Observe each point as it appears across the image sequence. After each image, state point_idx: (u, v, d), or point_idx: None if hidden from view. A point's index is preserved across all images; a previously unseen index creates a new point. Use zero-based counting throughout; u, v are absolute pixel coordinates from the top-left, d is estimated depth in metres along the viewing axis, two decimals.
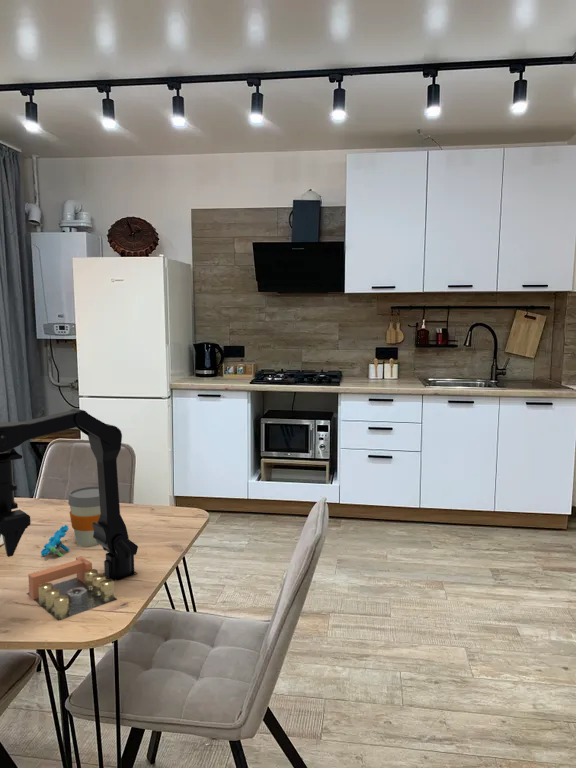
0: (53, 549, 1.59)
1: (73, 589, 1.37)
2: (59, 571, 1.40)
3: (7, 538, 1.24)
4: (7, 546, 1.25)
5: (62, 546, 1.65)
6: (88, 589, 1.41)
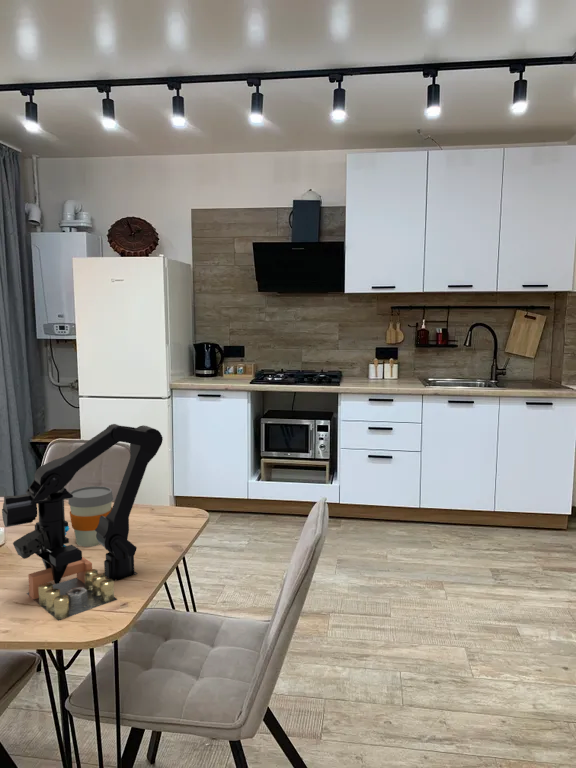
0: None
1: (73, 589, 1.37)
2: None
3: (55, 567, 1.37)
4: (54, 574, 1.38)
5: None
6: (88, 589, 1.41)
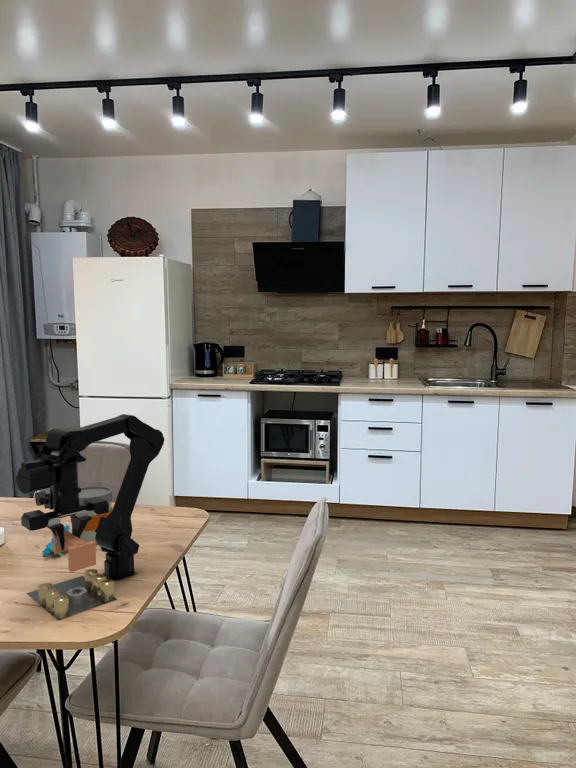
0: None
1: (73, 589, 1.37)
2: None
3: (52, 531, 1.35)
4: (56, 539, 1.36)
5: None
6: (88, 589, 1.41)
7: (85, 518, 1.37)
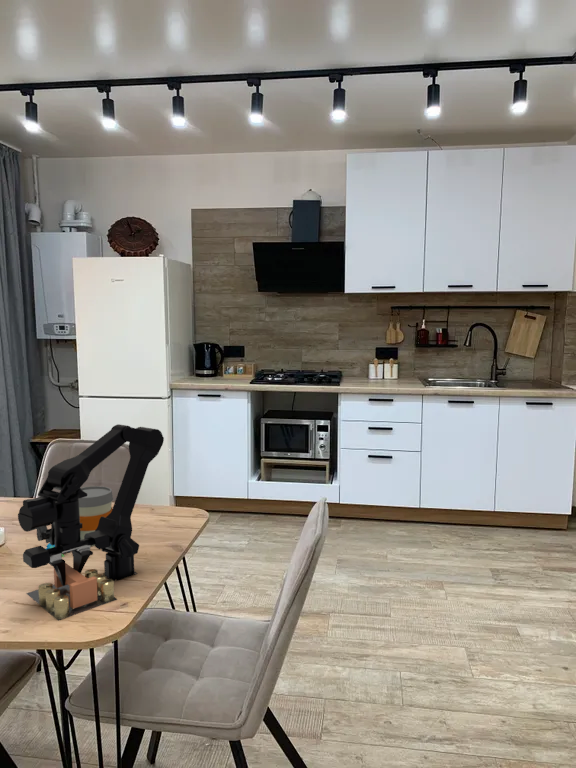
0: None
1: None
2: None
3: (54, 566, 1.36)
4: (58, 574, 1.37)
5: None
6: None
7: (86, 553, 1.38)
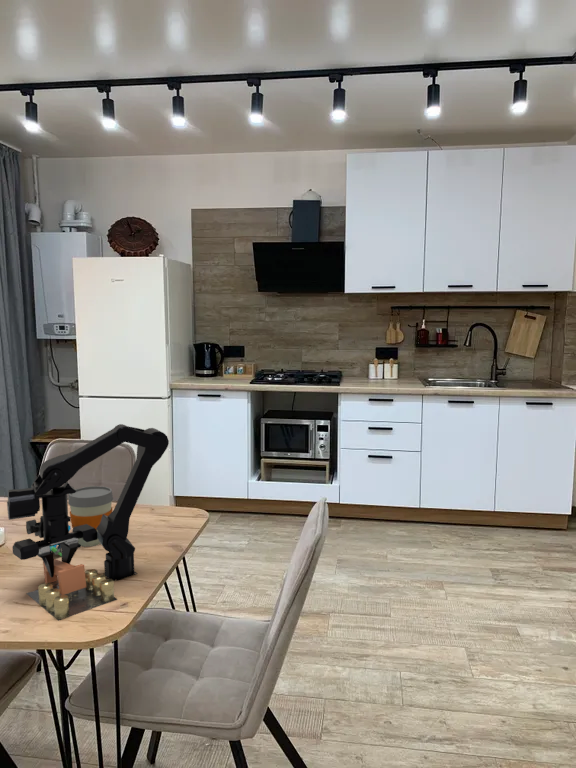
0: (54, 549, 1.59)
1: None
2: None
3: (42, 558, 1.41)
4: (46, 566, 1.41)
5: None
6: (88, 589, 1.41)
7: (74, 546, 1.43)
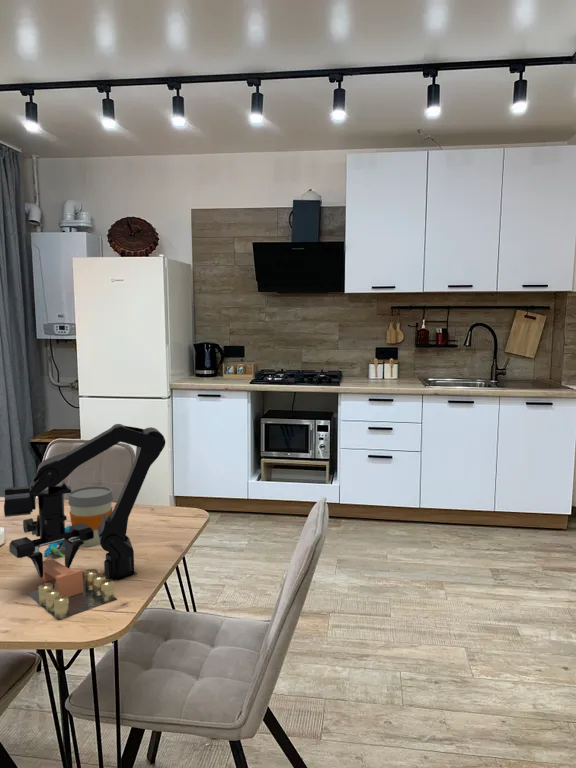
0: (54, 549, 1.59)
1: None
2: (52, 569, 1.42)
3: (32, 559, 1.41)
4: (36, 566, 1.42)
5: None
6: (88, 589, 1.41)
7: (77, 542, 1.46)
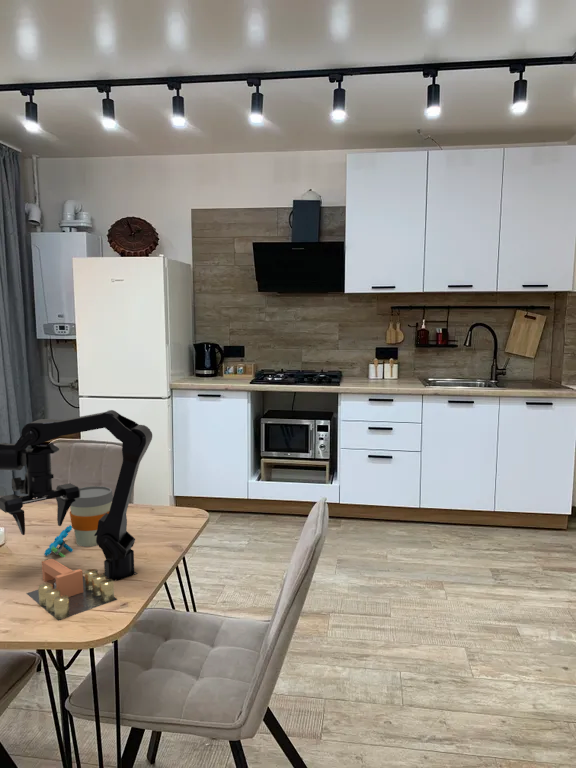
0: (54, 549, 1.59)
1: None
2: (52, 569, 1.42)
3: (14, 516, 1.45)
4: (18, 524, 1.46)
5: (65, 546, 1.65)
6: (88, 589, 1.41)
7: (69, 500, 1.52)
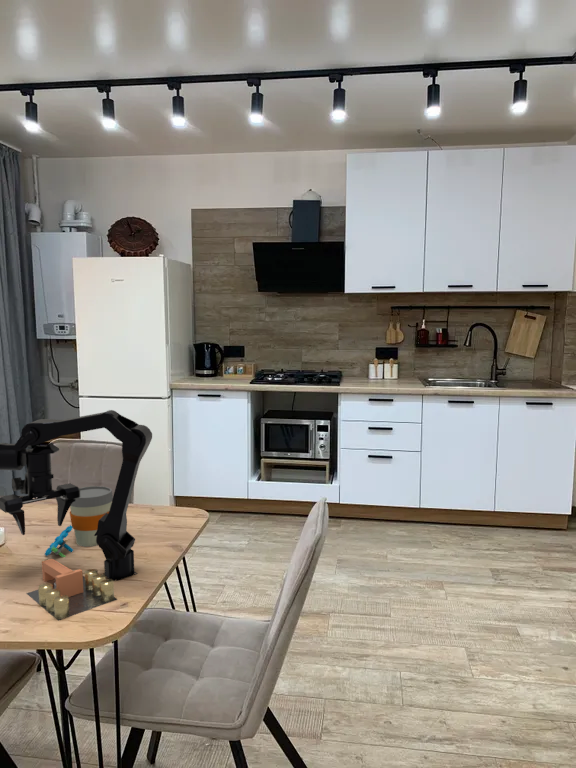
0: (54, 549, 1.59)
1: None
2: (52, 569, 1.42)
3: (14, 516, 1.45)
4: (18, 524, 1.46)
5: (66, 546, 1.65)
6: (88, 589, 1.41)
7: (69, 500, 1.52)
